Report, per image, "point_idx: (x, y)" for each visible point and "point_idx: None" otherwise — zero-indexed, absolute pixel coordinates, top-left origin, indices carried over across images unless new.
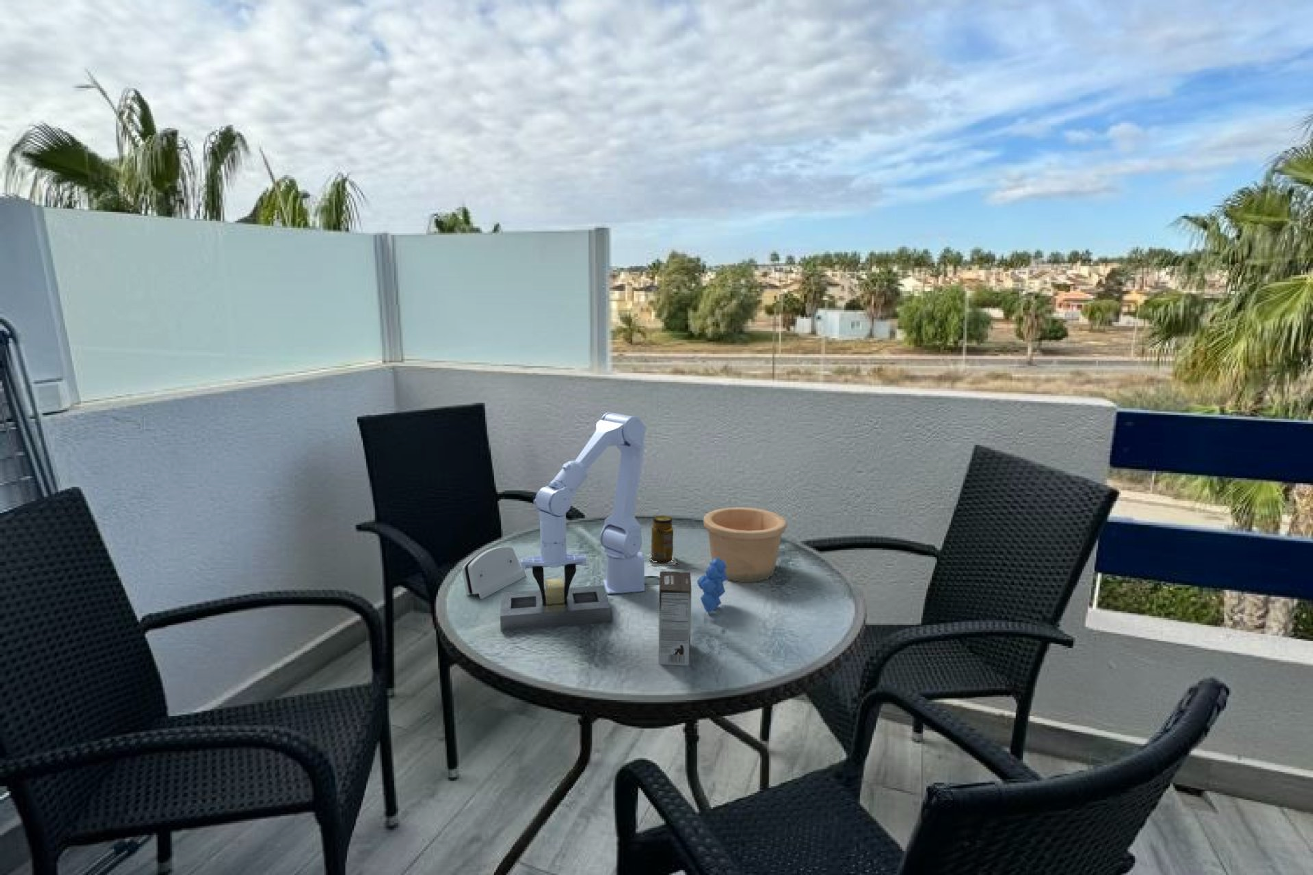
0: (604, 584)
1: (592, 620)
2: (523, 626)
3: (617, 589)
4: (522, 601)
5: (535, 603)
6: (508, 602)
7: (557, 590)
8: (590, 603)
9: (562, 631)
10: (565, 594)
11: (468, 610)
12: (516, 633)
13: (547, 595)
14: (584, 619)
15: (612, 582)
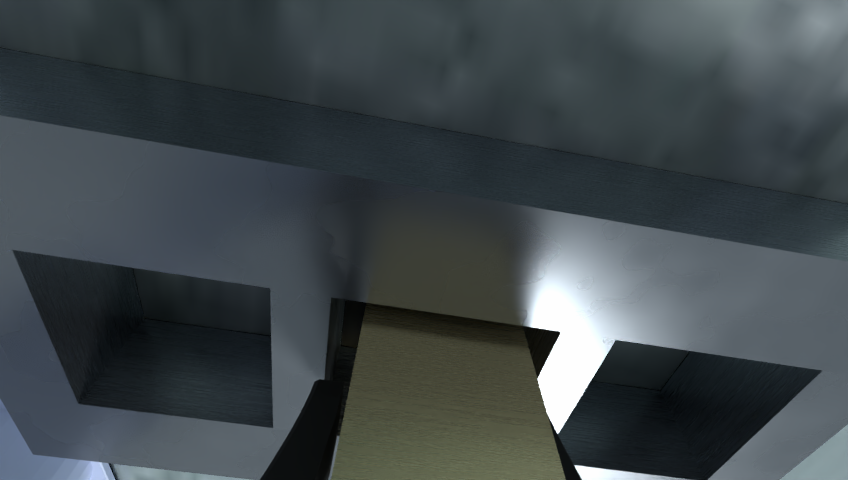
0: (108, 471)
1: (143, 83)
2: (732, 191)
3: (7, 416)
4: (621, 439)
5: None
6: (764, 443)
7: (422, 453)
8: (100, 244)
9: (447, 20)
10: (330, 402)
11: (838, 455)
12: (808, 133)
13: (534, 417)
14: (213, 103)
15: (10, 469)
